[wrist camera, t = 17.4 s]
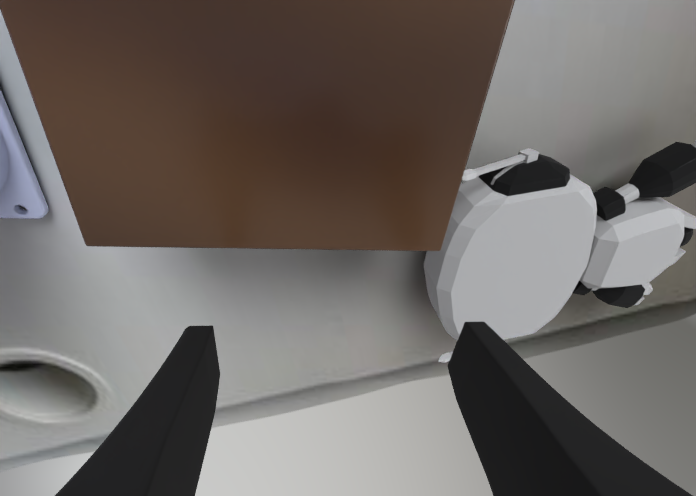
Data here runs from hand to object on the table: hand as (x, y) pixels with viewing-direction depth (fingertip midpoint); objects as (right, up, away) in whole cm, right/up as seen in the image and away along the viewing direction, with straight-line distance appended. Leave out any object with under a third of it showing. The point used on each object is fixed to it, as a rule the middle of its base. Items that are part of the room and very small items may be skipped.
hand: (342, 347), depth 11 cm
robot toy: (+11, +4, +12) cm, 17 cm away
